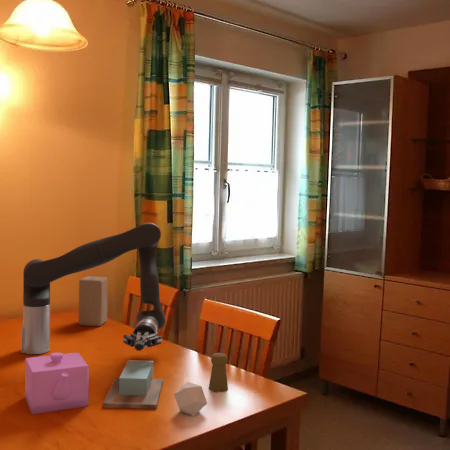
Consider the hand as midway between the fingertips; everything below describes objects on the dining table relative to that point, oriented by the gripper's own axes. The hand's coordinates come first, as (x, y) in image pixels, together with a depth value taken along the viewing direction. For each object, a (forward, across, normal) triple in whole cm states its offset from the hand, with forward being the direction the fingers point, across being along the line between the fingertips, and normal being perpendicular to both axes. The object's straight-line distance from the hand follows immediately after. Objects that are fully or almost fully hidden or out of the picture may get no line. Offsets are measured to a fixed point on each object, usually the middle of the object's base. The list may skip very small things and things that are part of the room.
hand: (138, 347), depth 175 cm
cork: (+1, +25, +12) cm, 28 cm away
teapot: (+15, -21, +12) cm, 29 cm away
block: (-71, -29, +12) cm, 78 cm away
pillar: (-5, 0, +8) cm, 10 cm away
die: (+19, +17, +12) cm, 28 cm away
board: (+8, 0, +12) cm, 14 cm away
